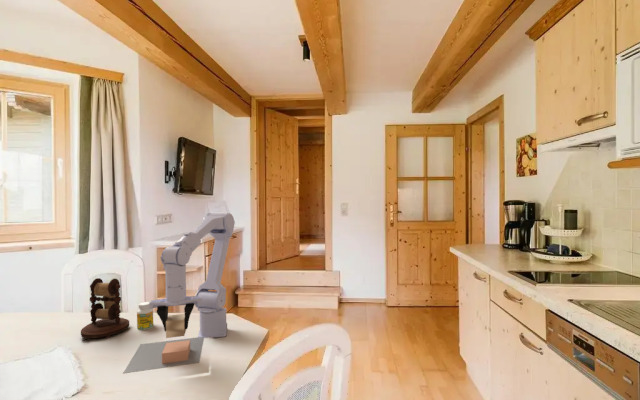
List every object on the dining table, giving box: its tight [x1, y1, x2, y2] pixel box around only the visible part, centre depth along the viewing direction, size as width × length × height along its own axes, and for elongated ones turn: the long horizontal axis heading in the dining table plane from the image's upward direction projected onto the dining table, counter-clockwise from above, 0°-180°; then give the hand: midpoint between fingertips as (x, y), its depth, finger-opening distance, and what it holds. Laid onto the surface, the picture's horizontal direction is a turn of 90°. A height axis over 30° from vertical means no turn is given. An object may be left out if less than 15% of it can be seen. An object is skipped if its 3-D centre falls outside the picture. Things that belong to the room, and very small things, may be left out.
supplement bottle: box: [136, 301, 154, 331], centre depth 120 cm, size 5×5×10 cm
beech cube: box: [165, 313, 187, 339], centre depth 98 cm, size 5×5×5 cm
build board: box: [122, 336, 205, 374], centre depth 100 cm, size 20×18×4 cm
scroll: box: [80, 277, 130, 339], centre depth 116 cm, size 15×15×20 cm
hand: (176, 328), depth 98 cm, fingers closed on beech cube, 5 cm apart
